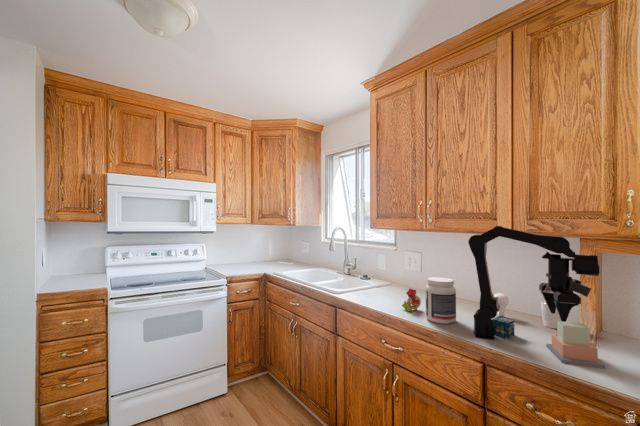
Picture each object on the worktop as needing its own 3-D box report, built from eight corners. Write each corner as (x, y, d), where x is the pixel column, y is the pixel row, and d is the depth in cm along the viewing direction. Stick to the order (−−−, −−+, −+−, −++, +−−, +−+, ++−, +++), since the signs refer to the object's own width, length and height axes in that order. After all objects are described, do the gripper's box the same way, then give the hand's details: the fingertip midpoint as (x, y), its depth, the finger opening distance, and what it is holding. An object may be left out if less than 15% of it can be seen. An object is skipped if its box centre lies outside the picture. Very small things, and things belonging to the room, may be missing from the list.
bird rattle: (411, 312, 154) (397, 306, 151) (419, 291, 155) (405, 285, 153) (419, 316, 148) (404, 310, 145) (427, 294, 149) (412, 288, 147)
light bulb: (495, 318, 138) (495, 294, 138) (490, 314, 144) (490, 291, 145) (511, 319, 136) (511, 295, 137) (506, 315, 143) (505, 291, 143)
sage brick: (563, 342, 98) (563, 325, 99) (557, 337, 103) (557, 321, 103) (589, 345, 96) (589, 328, 96) (582, 340, 100) (582, 323, 101)
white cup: (565, 326, 128) (564, 302, 128) (564, 331, 122) (563, 306, 122) (542, 322, 133) (542, 299, 134) (540, 326, 127) (540, 303, 128)
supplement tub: (462, 322, 132) (462, 280, 133) (442, 326, 127) (442, 283, 127) (439, 314, 144) (438, 275, 144) (419, 318, 138) (419, 278, 138)
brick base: (561, 362, 95) (561, 346, 95) (546, 346, 107) (546, 332, 107) (605, 368, 91) (605, 352, 91) (584, 351, 104) (583, 336, 104)
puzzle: (498, 331, 122) (497, 316, 122) (514, 335, 118) (514, 320, 118) (491, 334, 119) (491, 319, 119) (508, 339, 114) (508, 323, 114)
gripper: (602, 279, 93) (601, 330, 92) (574, 269, 110) (574, 312, 110) (558, 276, 96) (558, 324, 96) (538, 267, 114) (538, 308, 114)
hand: (558, 317), depth 104 cm, fingers open, 9 cm apart
